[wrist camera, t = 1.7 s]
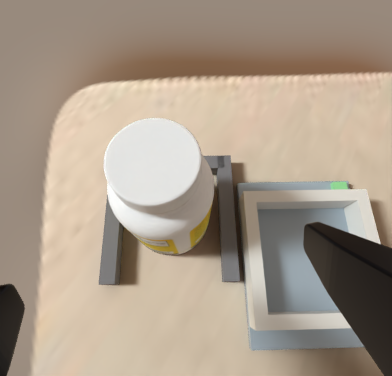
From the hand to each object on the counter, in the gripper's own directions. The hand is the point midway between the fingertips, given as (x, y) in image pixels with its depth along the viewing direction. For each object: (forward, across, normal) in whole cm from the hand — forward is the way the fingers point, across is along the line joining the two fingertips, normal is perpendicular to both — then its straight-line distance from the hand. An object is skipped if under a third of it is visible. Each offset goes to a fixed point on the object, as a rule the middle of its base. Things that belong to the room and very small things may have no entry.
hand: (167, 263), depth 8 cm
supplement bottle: (+11, 0, +5) cm, 12 cm away
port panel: (+7, -9, +8) cm, 14 cm away
